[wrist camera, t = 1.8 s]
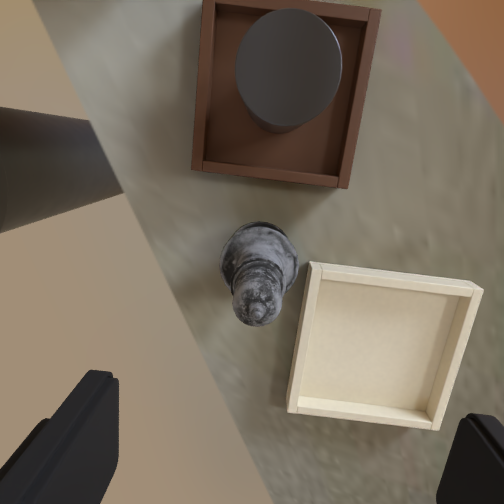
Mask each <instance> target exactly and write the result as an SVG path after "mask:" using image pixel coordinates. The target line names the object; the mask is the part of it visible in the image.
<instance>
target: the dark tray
mask: <svg viewBox="0 0 504 504" xmlns="http://www.w3.org/2000/svg"><path fill="white" fill-rule="evenodd" d="M284 8H297V9H302V10H306V11H308V12H311V13H313V14H315V15H316V16H318V17H319V18H321V19H322V20H323V21H324V22H325V23H326V24H327V25H328V26H329V27H330V29H331V30H332V31H333V33H334V35H335V37H336V38H337V41H338V43H339V46H340V50H341V55H342V76H341V80H340V84H339V87H338V90H337V92H336V94H335V96H334V98H333V100H332V101H331V103H330V104H329V105H328V106H327V108H326V109H325V110H324V111H323V112H322V113H320V114H319V115H318V116H317V117H315V118H314V119H312V120H310V121H309V122H307V123H305V124H303V125H302V126H300V127H298V128H297V129H295V130H293V131H290V132H287V133H281V134H277V133H270V132H268V131H265V130H263V129H262V128H260V127H259V126H258V125H257V124H255V122H254V121H253V120H252V118H251V117H250V115H249V113H248V111H247V109H246V106H245V104H244V102H243V100H242V98H241V96H240V93H239V91H238V88H237V84H236V79H235V59H236V54H237V50H238V47H239V45H240V42H241V40H242V38H243V37H244V35H245V33H246V32H247V31H248V29H249V28H250V27H251V26H252V25H253V24H254V23H255V22H256V21H257V20H258V19H260V18H261V17H262V16H264V15H266V14H267V13H270V12H272V11H275V10H279V9H284ZM381 11H382V10H381V9H374V8H370V9H369V8H367V7H359V6H351V5H343V4H334V3H326V2H318V1H310V0H203V5H202V20H201V34H200V49H199V63H198V78H197V92H196V107H195V121H194V136H193V150H192V165H191V170H195V171H203V172H212V173H220V174H228V175H236V176H244V177H253V178H261V179H269V180H277V181H285V182H293V183H302V184H310V185H318V186H326V187H334V188H336V187H337V188H342V189H348V185H349V180H350V174H351V169H352V164H353V159H354V153H355V148H356V143H357V138H358V132H359V127H360V122H361V117H362V111H363V106H364V101H365V96H366V90H367V85H368V80H369V75H370V69H371V64H372V59H373V54H374V48H375V43H376V38H377V32H378V27H379V22H380V17H381Z"/></svg>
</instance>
